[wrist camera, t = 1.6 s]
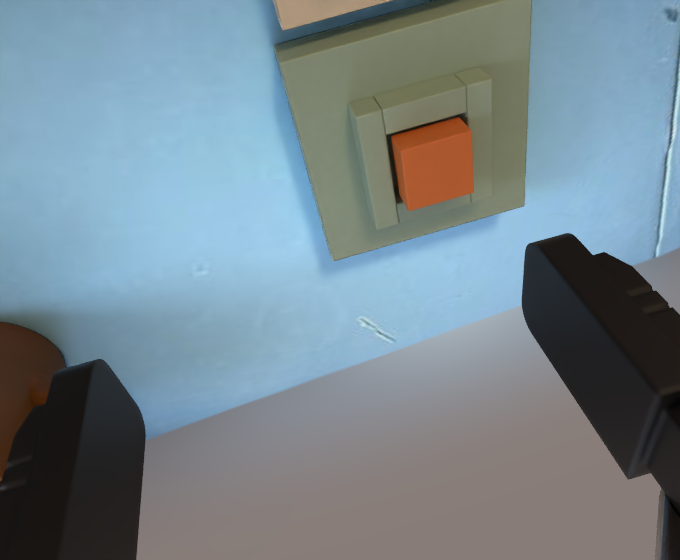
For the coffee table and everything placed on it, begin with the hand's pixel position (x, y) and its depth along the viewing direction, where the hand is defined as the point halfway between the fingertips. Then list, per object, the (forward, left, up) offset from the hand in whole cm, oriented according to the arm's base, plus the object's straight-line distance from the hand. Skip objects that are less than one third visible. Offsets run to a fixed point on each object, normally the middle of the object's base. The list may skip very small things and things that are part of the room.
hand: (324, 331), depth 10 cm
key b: (+6, +6, -15) cm, 17 cm away
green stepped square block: (+6, +6, -18) cm, 20 cm away
